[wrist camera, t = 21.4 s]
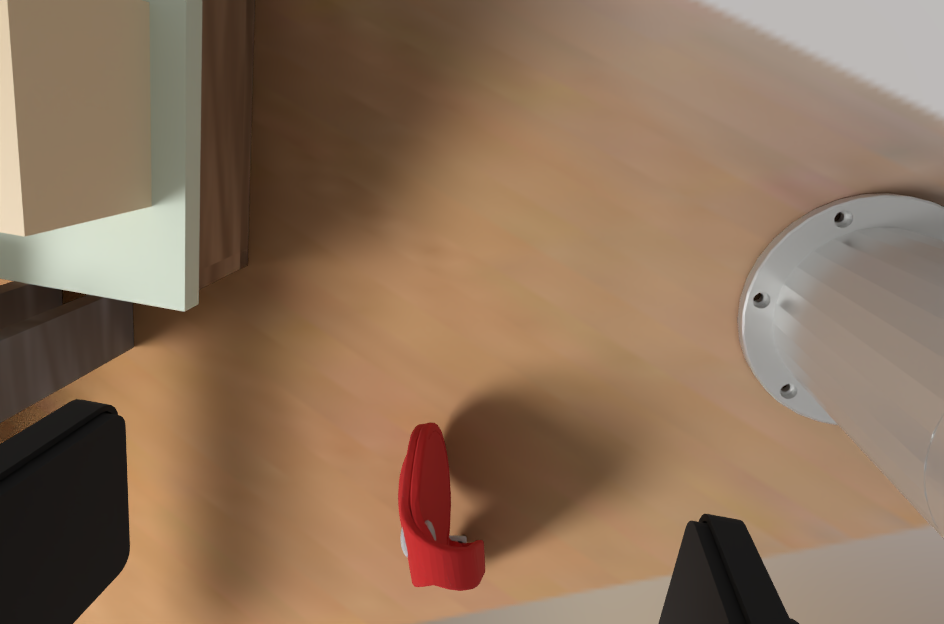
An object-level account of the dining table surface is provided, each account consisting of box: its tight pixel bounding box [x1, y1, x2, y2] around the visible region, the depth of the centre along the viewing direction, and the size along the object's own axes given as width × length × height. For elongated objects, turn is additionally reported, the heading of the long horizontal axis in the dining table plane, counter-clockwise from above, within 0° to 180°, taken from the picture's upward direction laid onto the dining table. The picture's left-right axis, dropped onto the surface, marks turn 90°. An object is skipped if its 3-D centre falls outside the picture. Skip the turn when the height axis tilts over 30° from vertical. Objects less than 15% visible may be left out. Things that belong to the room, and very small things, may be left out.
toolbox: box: [0, 0, 255, 423], centre depth 30 cm, size 14×22×14 cm, turn 172°
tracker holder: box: [398, 423, 485, 591], centre depth 36 cm, size 12×4×10 cm, turn 6°
